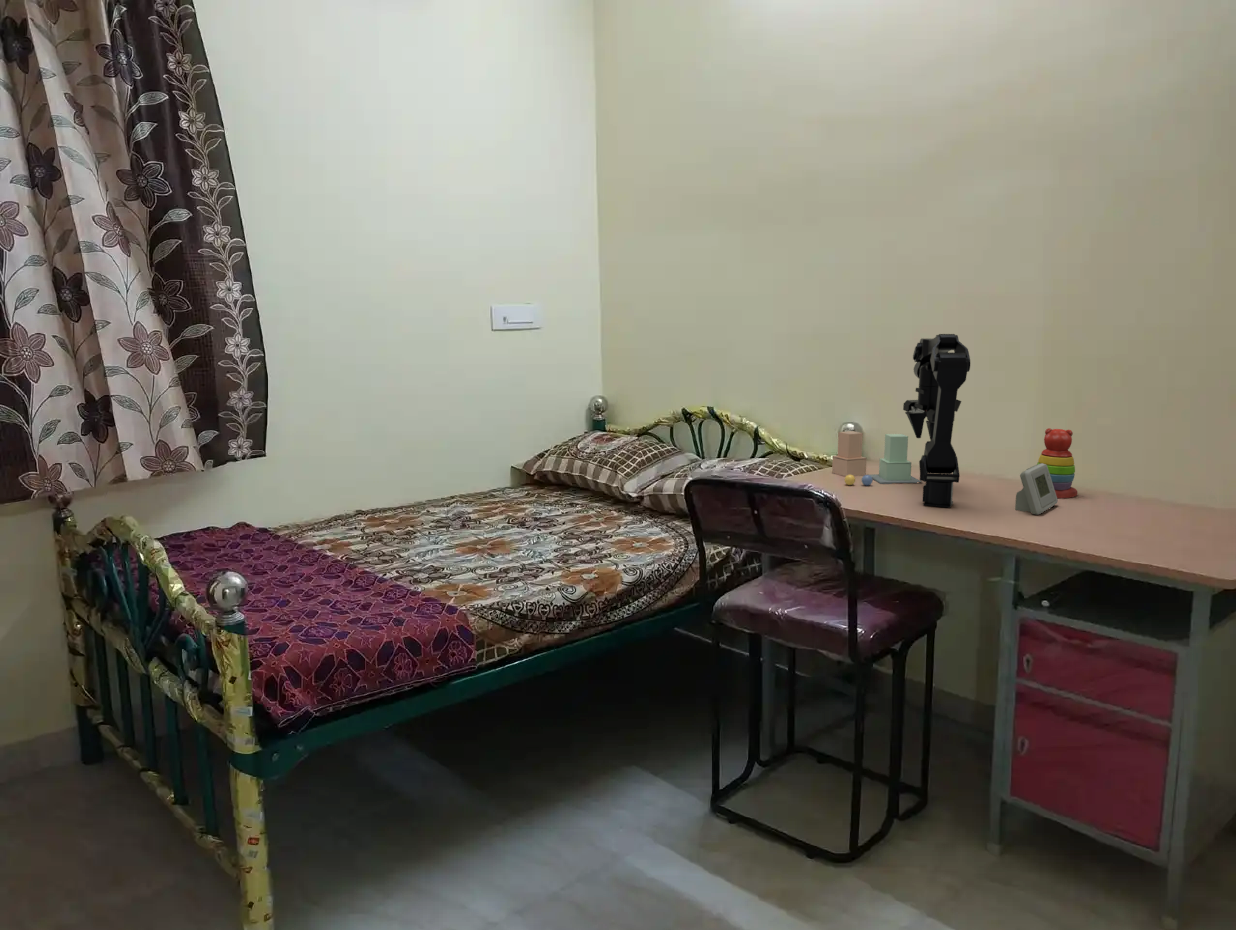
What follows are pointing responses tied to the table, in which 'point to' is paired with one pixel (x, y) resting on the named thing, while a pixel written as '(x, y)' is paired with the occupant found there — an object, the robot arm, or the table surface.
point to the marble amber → (849, 479)
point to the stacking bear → (1059, 461)
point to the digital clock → (1036, 490)
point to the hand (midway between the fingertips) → (926, 441)
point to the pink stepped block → (849, 455)
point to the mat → (883, 481)
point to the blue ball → (867, 480)
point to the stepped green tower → (895, 458)
